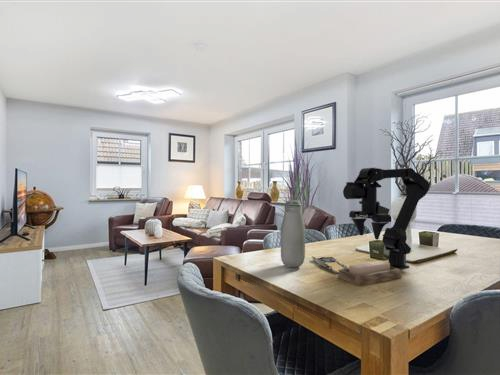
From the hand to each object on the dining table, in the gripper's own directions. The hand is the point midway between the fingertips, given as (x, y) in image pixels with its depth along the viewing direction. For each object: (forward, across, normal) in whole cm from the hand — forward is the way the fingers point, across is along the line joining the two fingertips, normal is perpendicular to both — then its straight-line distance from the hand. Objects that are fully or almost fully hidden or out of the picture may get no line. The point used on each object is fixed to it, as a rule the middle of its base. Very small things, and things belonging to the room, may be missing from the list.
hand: (368, 237), depth 120 cm
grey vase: (+13, +12, +28) cm, 33 cm away
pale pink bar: (+12, -9, +7) cm, 16 cm away
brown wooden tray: (+13, -9, +7) cm, 17 cm away
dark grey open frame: (+14, +8, +12) cm, 20 cm away
